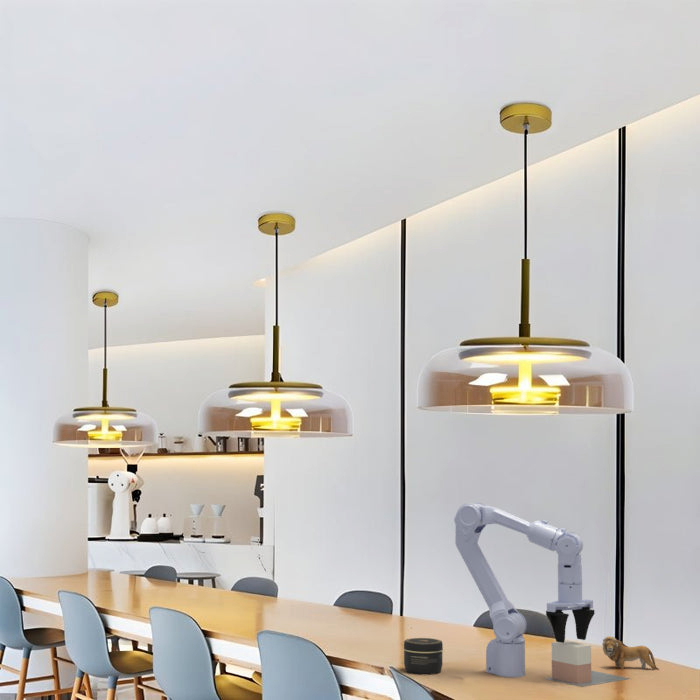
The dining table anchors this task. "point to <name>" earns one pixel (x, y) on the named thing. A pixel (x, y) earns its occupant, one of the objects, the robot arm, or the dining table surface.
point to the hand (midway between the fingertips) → (570, 640)
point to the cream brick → (571, 653)
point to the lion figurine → (627, 653)
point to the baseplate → (594, 679)
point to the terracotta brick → (571, 672)
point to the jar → (423, 655)
